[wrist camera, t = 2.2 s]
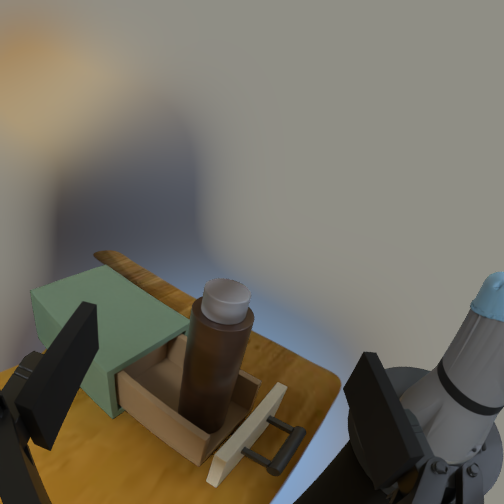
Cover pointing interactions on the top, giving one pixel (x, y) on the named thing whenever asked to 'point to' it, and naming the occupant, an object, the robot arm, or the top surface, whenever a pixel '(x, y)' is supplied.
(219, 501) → the top surface
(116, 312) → the cabinet
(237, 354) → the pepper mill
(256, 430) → the drawer
